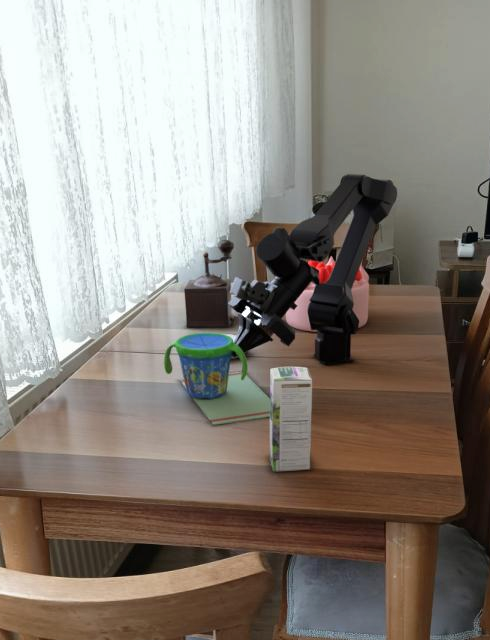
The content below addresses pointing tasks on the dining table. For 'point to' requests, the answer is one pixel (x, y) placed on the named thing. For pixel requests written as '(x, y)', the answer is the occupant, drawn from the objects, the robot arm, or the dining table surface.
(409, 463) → the dining table surface
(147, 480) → the dining table surface
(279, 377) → the syrup box
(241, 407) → the green flat piece
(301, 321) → the cake
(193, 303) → the manual coffee grinder
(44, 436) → the dining table surface
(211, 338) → the snack cup
